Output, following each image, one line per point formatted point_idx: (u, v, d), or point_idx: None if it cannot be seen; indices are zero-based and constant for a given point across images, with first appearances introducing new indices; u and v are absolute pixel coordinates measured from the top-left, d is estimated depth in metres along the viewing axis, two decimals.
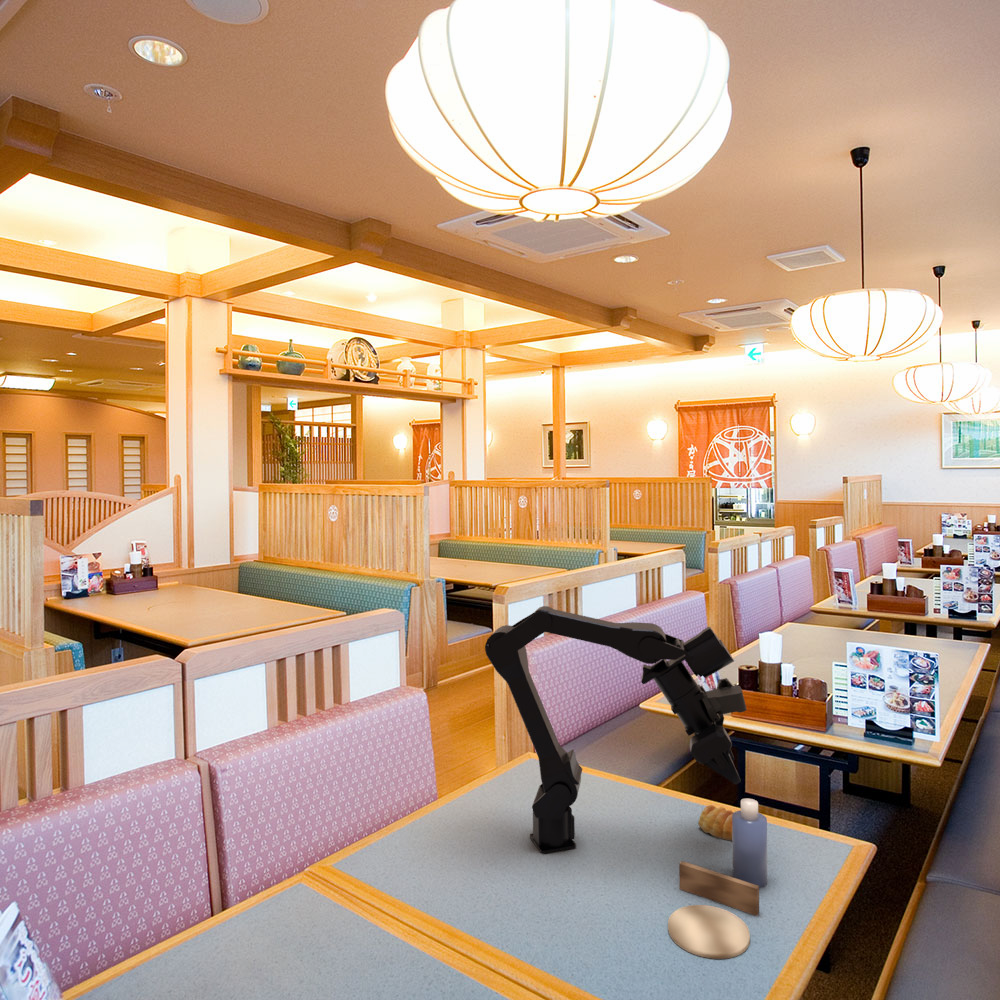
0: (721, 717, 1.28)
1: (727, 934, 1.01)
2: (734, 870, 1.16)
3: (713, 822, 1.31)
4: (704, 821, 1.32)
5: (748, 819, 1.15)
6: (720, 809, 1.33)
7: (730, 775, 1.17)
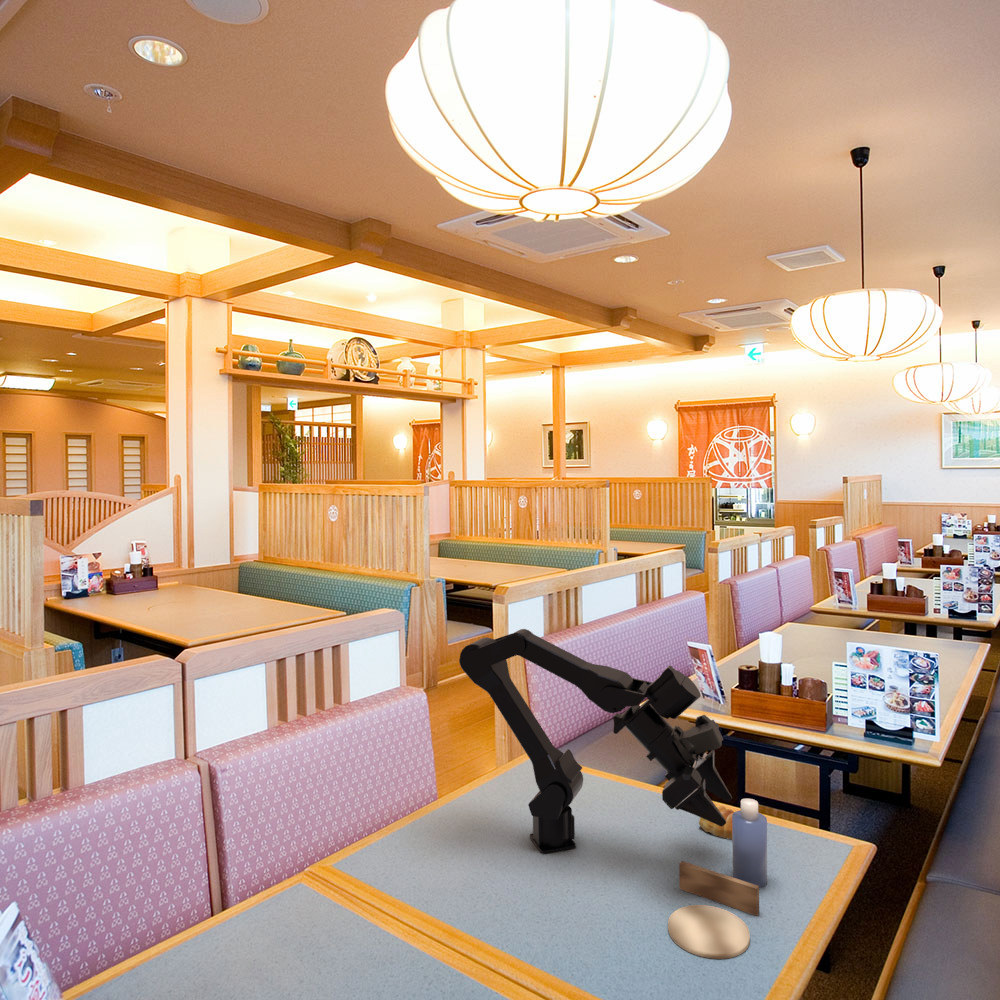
0: (710, 755, 1.23)
1: (727, 934, 1.01)
2: (734, 870, 1.16)
3: None
4: (705, 820, 1.32)
5: (748, 819, 1.15)
6: (720, 808, 1.34)
7: (713, 817, 1.13)
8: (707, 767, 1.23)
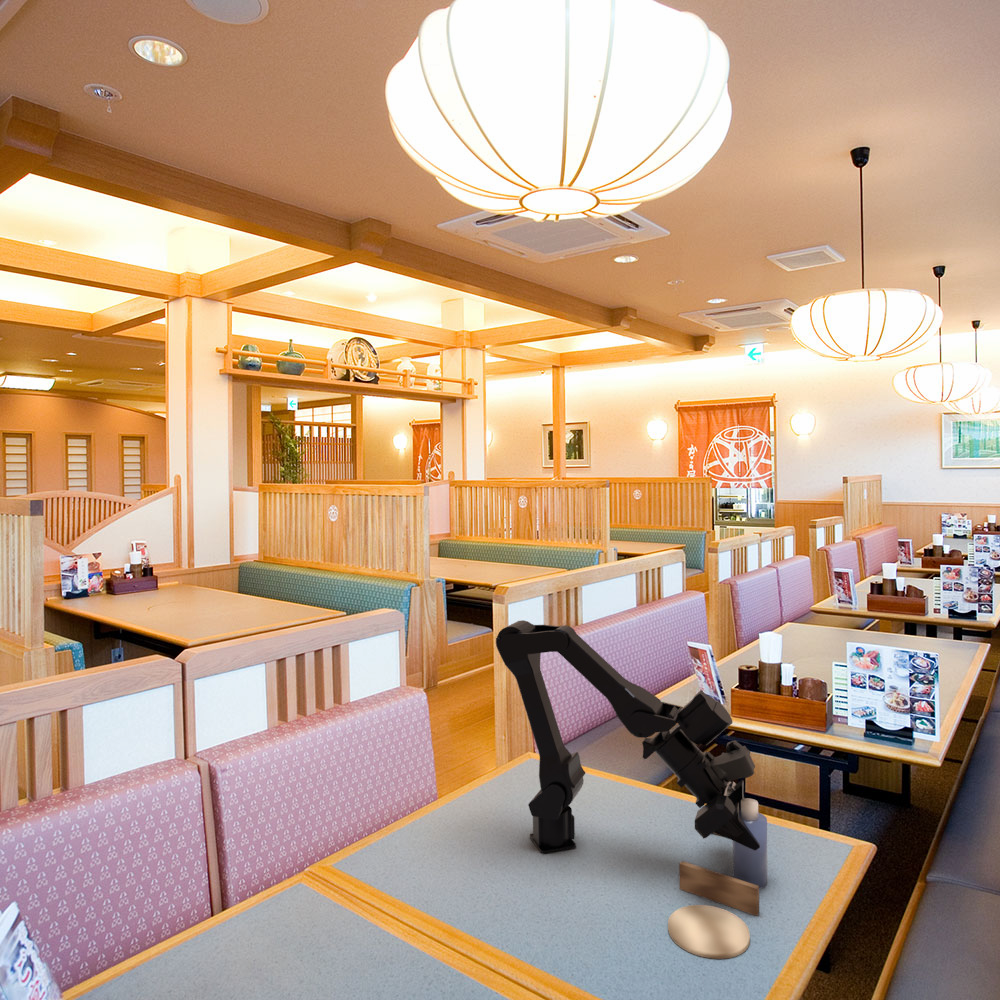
0: (740, 785, 1.20)
1: (727, 934, 1.01)
2: (734, 870, 1.16)
3: None
4: None
5: (748, 819, 1.15)
6: None
7: (747, 841, 1.13)
8: (736, 798, 1.20)
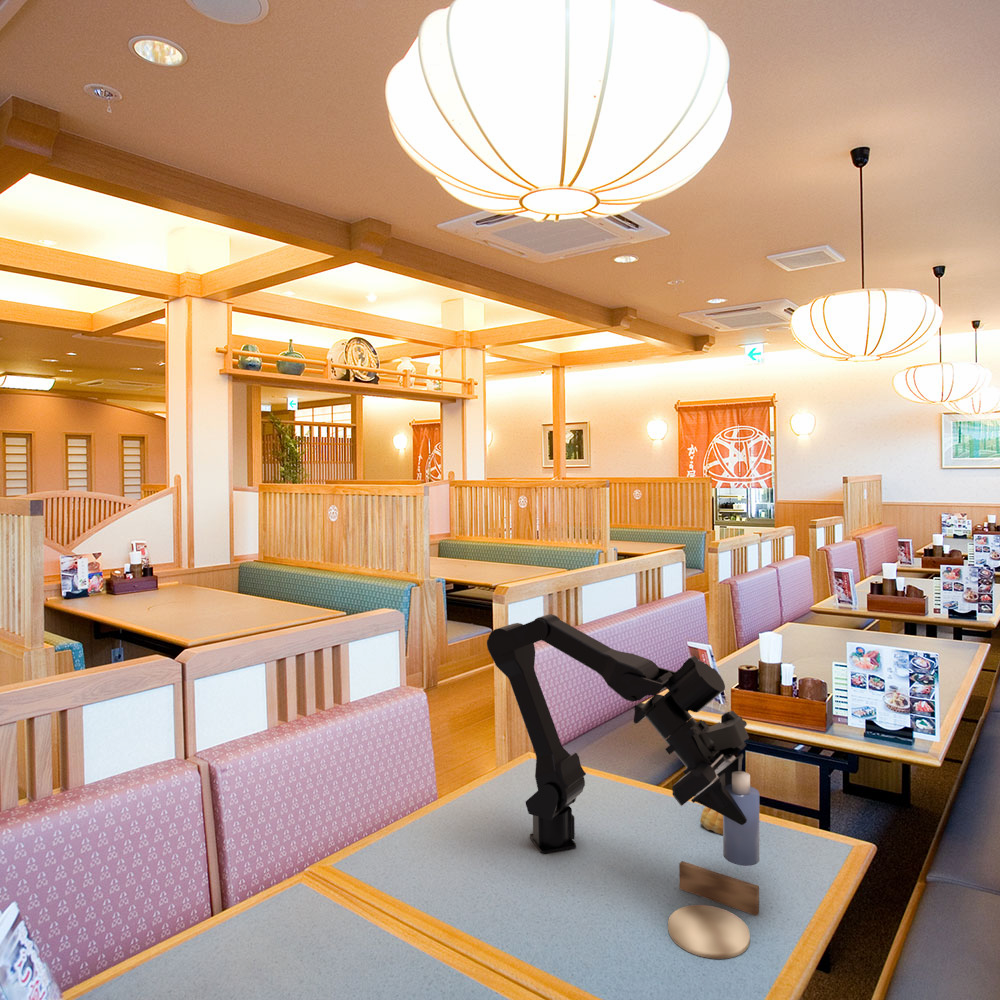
0: (736, 758, 1.14)
1: (727, 934, 1.01)
2: (723, 845, 1.10)
3: (715, 819, 1.32)
4: (706, 818, 1.33)
5: (738, 792, 1.09)
6: None
7: (732, 815, 1.07)
8: (732, 771, 1.14)
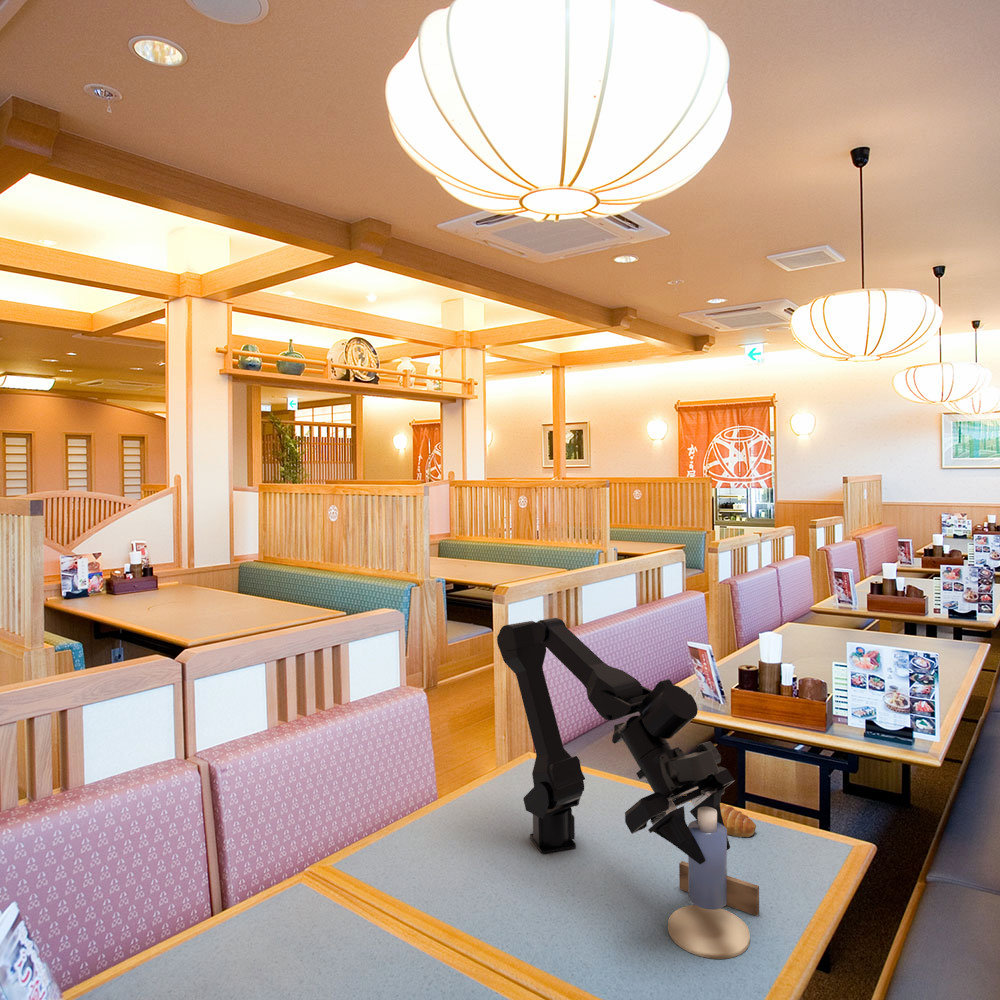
0: (713, 793, 1.06)
1: (727, 934, 1.01)
2: (688, 882, 1.04)
3: None
4: None
5: (701, 829, 1.02)
6: (721, 805, 1.35)
7: (690, 852, 1.00)
8: (708, 806, 1.06)
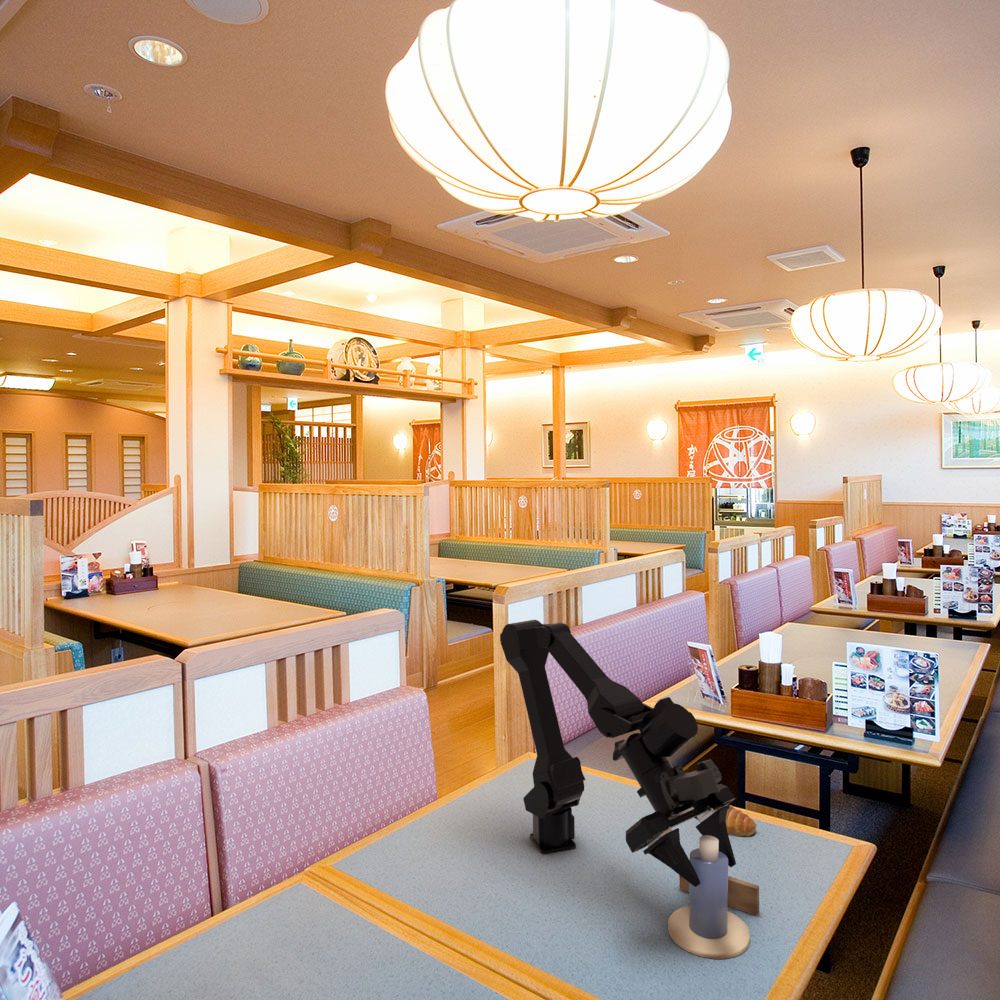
0: (719, 809, 1.07)
1: (727, 934, 1.01)
2: None
3: None
4: None
5: (702, 858, 1.02)
6: None
7: (685, 874, 1.00)
8: (713, 822, 1.07)
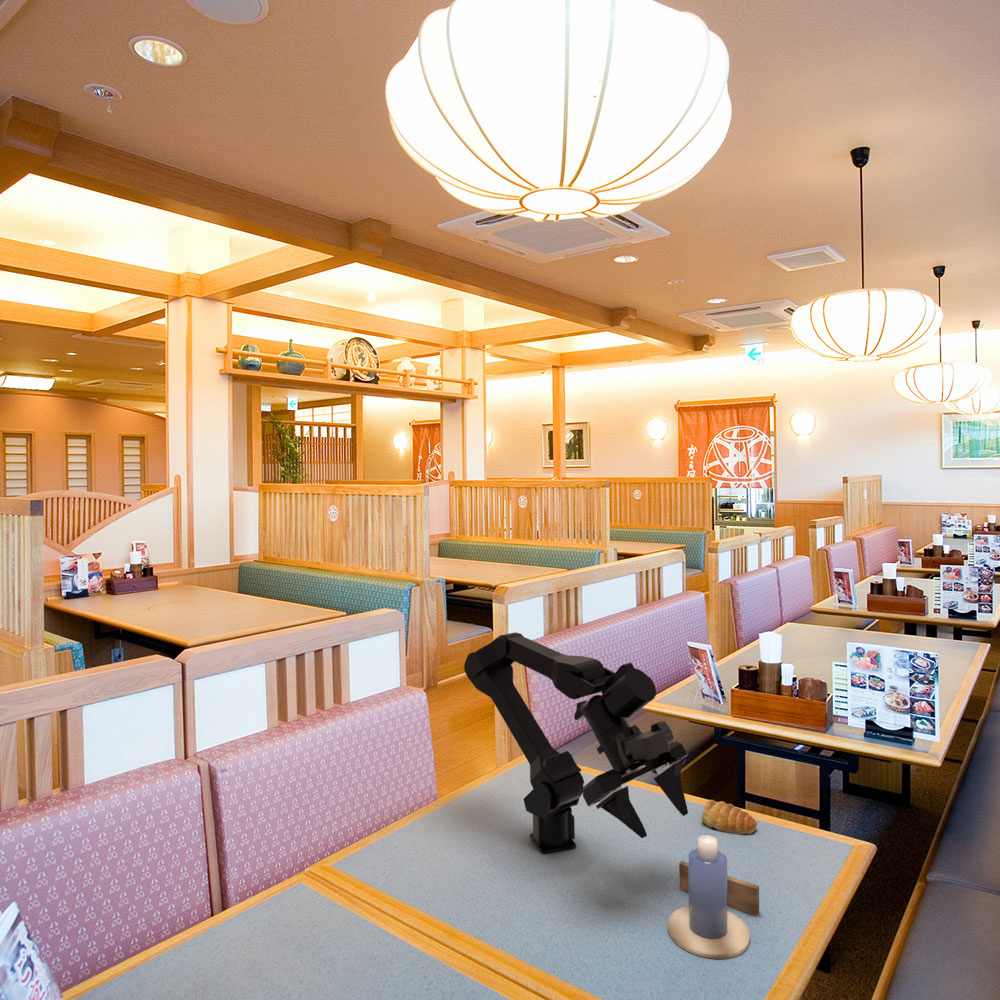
0: (674, 764, 1.15)
1: (727, 934, 1.01)
2: None
3: (717, 816, 1.33)
4: (708, 816, 1.34)
5: (701, 858, 1.02)
6: (721, 803, 1.36)
7: (633, 827, 1.08)
8: (669, 775, 1.16)
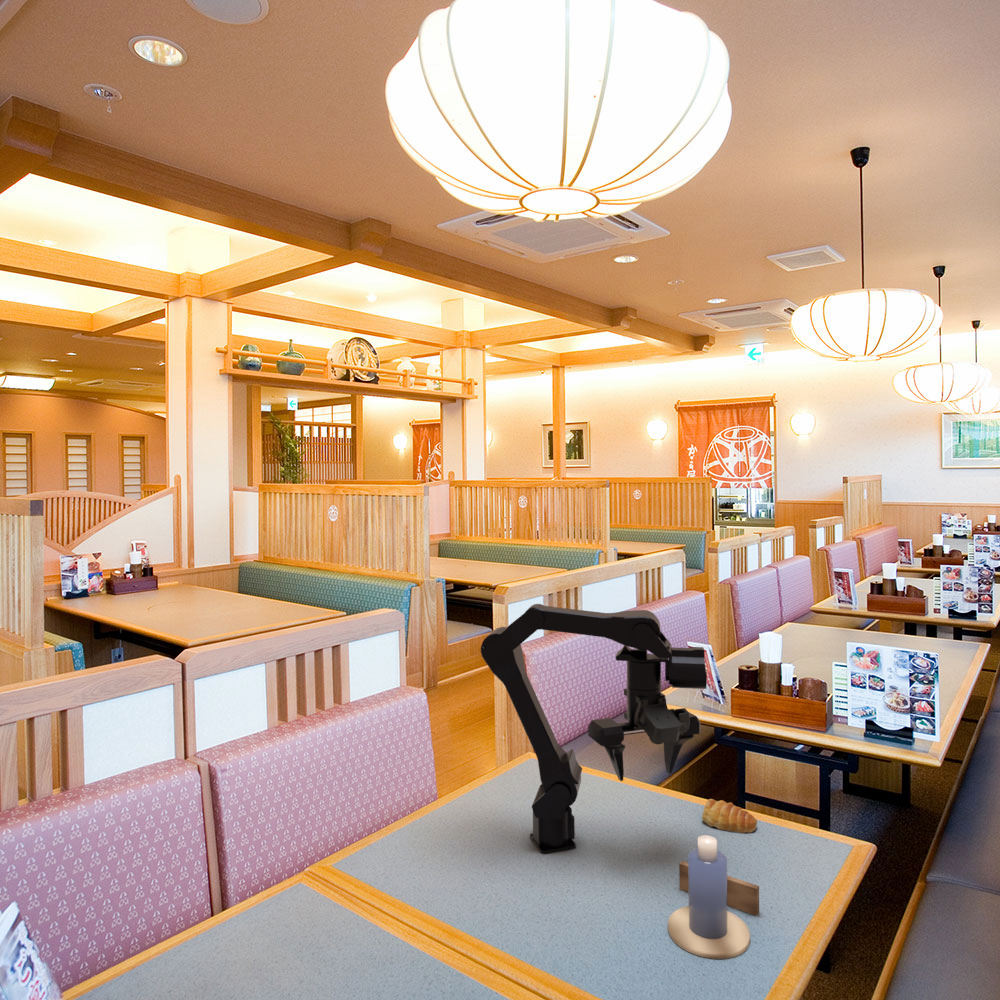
0: (681, 737, 1.24)
1: (727, 934, 1.01)
2: None
3: (718, 815, 1.33)
4: (708, 815, 1.34)
5: (701, 858, 1.02)
6: (721, 802, 1.36)
7: (615, 769, 1.24)
8: None
